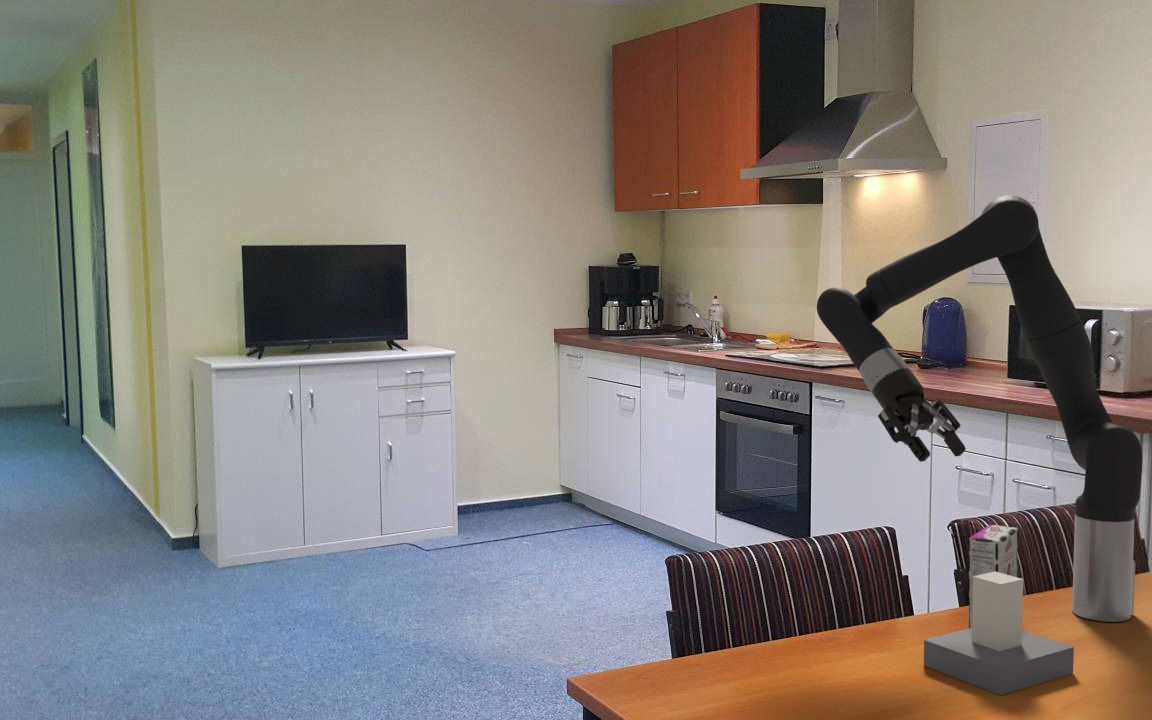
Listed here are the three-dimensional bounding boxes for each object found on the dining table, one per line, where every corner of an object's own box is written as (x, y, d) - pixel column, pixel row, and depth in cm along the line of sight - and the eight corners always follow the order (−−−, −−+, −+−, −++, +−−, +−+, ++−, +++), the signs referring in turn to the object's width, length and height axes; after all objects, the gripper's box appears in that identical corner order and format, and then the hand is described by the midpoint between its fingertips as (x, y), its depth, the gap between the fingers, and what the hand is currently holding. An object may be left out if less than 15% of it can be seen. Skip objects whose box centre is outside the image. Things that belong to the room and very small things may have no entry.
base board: (994, 646, 178) (994, 621, 178) (1073, 673, 166) (1073, 647, 166) (923, 665, 170) (924, 639, 169) (1001, 695, 158) (1001, 667, 157)
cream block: (993, 635, 171) (995, 571, 170) (1021, 645, 167) (1023, 579, 166) (971, 641, 168) (972, 576, 168) (999, 651, 164) (1000, 584, 163)
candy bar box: (987, 617, 193) (989, 523, 191) (1017, 623, 190) (1019, 527, 188) (965, 635, 184) (967, 536, 182) (997, 640, 181) (999, 540, 179)
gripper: (873, 369, 186) (927, 446, 178) (931, 364, 194) (986, 437, 185) (849, 398, 191) (901, 474, 182) (907, 392, 199) (959, 465, 190)
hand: (943, 456), depth 184 cm, fingers open, 8 cm apart
